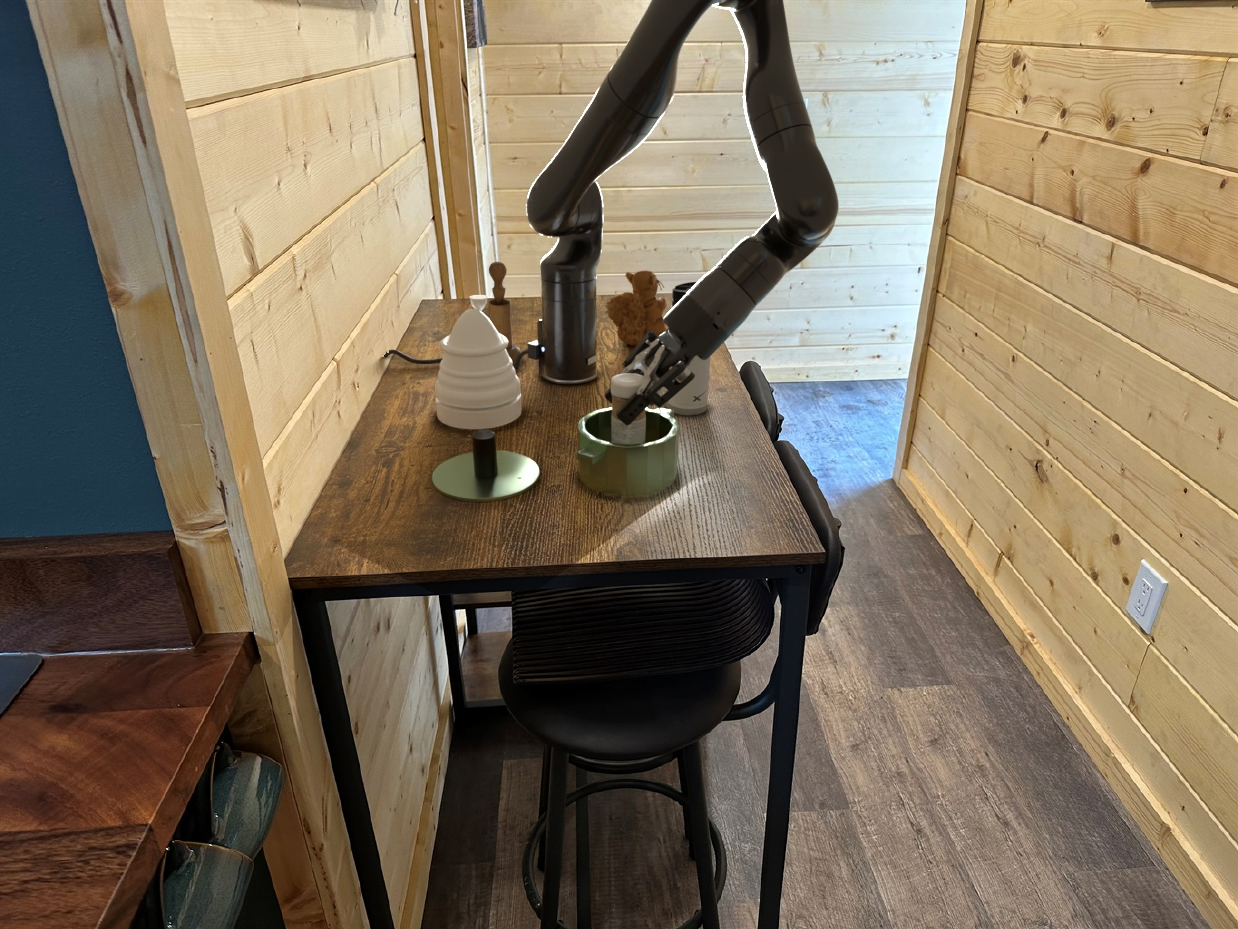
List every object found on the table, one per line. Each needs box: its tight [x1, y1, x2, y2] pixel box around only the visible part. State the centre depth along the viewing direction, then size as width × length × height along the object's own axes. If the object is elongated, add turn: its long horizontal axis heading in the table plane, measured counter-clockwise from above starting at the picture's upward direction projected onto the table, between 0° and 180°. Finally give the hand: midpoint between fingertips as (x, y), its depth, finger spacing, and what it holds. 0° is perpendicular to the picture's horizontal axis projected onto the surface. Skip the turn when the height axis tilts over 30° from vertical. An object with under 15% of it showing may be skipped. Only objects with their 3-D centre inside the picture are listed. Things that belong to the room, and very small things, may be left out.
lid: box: [431, 429, 541, 503], centre depth 106 cm, size 14×14×7 cm
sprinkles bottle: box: [610, 373, 646, 444], centre depth 106 cm, size 5×5×13 cm
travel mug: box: [666, 281, 711, 416], centre depth 126 cm, size 6×7×20 cm
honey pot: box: [434, 294, 523, 430], centre depth 123 cm, size 13×13×18 cm
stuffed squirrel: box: [604, 269, 669, 347], centre depth 159 cm, size 10×14×13 cm
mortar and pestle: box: [487, 261, 522, 365], centre depth 145 cm, size 7×6×18 cm
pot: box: [576, 406, 680, 498], centre depth 108 cm, size 13×18×7 cm
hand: (615, 410), depth 104 cm, fingers open, 5 cm apart
